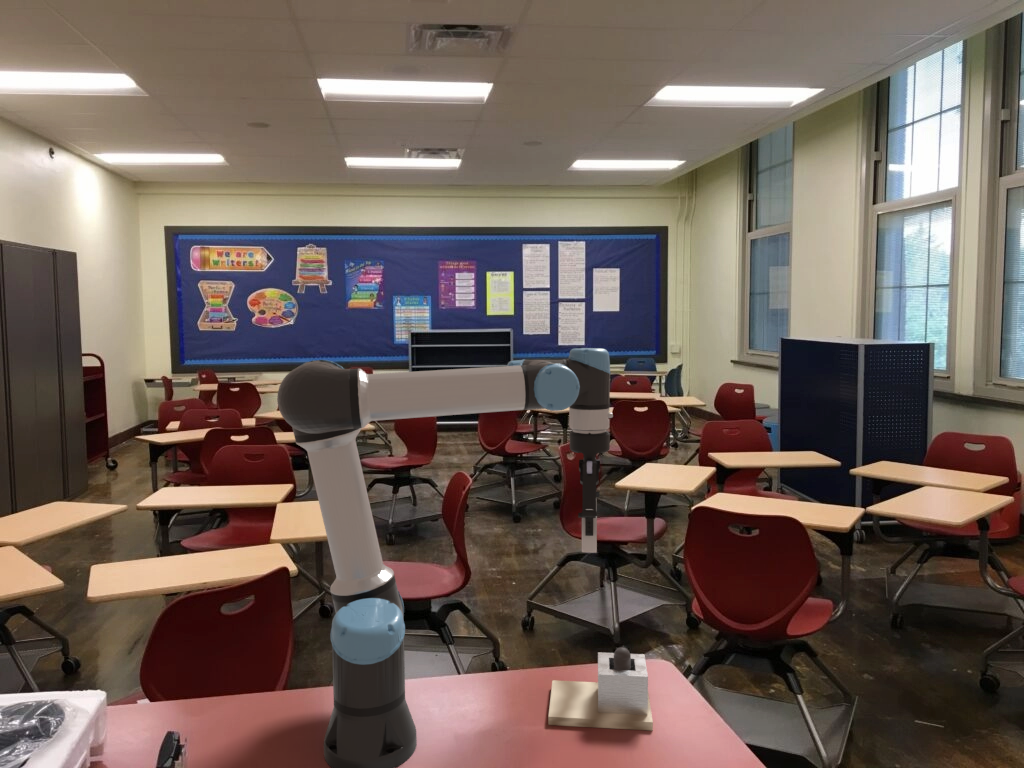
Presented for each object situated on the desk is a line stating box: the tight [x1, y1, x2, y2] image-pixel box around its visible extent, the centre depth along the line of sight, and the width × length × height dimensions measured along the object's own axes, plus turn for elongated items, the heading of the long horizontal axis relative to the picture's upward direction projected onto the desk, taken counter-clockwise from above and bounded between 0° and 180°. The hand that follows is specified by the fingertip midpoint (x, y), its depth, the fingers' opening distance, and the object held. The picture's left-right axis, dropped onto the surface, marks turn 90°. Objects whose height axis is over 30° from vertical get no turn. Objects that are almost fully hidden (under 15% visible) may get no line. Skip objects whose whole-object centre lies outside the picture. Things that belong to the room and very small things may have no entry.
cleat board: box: [547, 646, 654, 731], centre depth 131 cm, size 18×13×12 cm
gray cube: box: [597, 651, 649, 715], centre depth 131 cm, size 9×9×7 cm
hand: (589, 540), depth 138 cm, fingers open, 13 cm apart
